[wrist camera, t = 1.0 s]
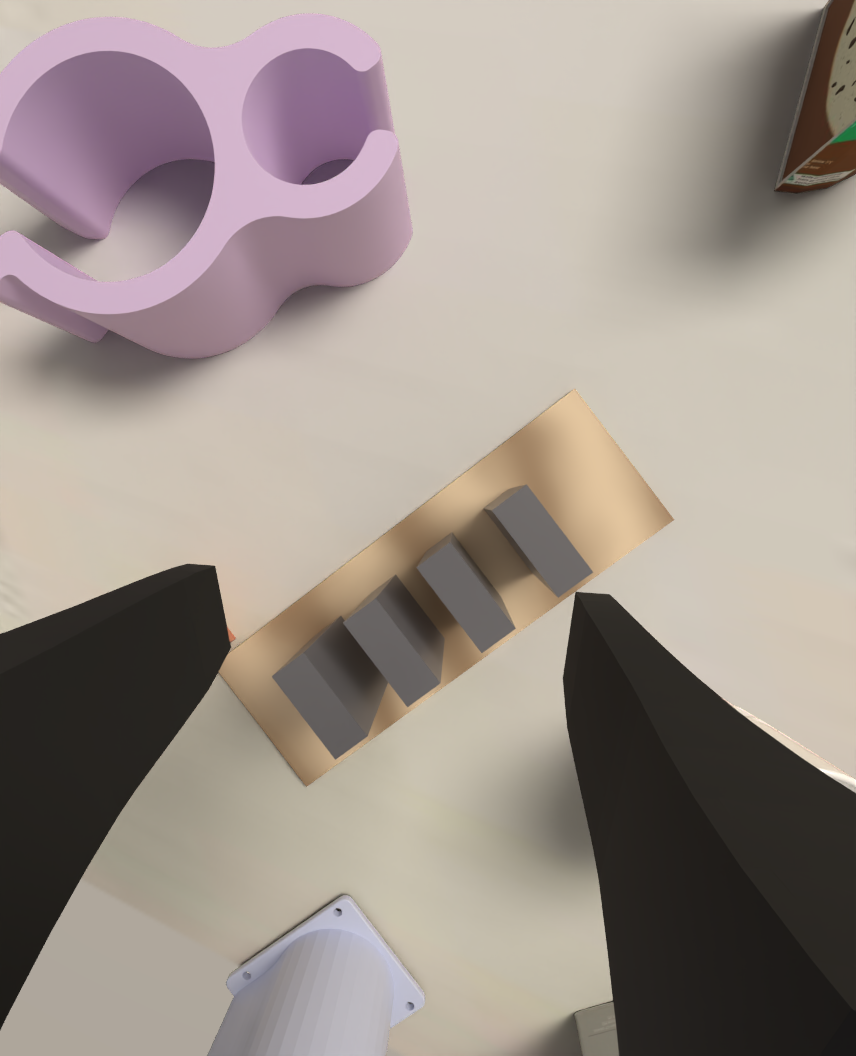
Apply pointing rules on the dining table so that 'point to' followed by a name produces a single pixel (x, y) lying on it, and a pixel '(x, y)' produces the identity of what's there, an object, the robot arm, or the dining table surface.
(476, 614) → the domino
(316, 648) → the domino
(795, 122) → the food container
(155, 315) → the clip
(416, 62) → the dining table surface
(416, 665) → the domino
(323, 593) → the cork strip
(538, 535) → the domino
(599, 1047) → the skincare box
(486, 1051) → the dining table surface
